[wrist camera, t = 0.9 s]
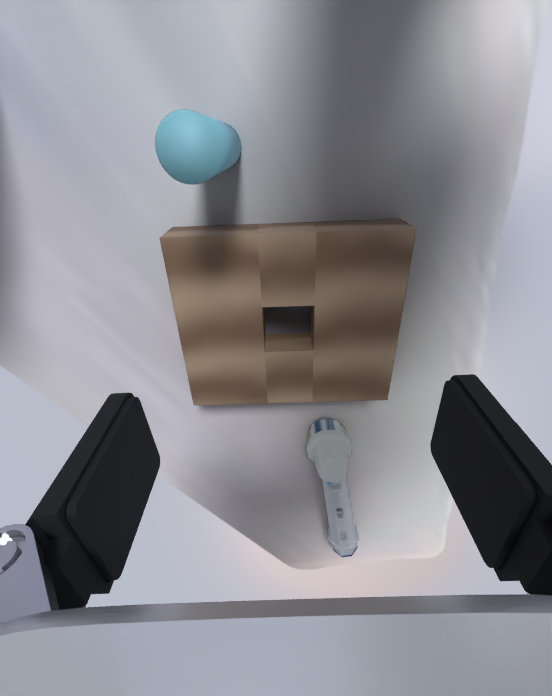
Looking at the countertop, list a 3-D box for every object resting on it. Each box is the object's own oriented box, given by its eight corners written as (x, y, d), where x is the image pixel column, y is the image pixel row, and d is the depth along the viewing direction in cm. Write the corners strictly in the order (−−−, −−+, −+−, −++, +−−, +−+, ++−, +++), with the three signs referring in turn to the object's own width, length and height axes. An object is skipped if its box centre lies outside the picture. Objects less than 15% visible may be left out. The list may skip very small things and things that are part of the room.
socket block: (172, 227, 30) (159, 238, 27) (399, 218, 30) (416, 228, 27) (200, 382, 39) (193, 405, 36) (377, 377, 39) (387, 399, 35)
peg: (197, 123, 27) (148, 110, 16) (239, 121, 26) (216, 107, 16) (203, 169, 28) (162, 185, 18) (242, 168, 28) (223, 183, 18)
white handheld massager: (329, 560, 52) (307, 469, 36) (323, 516, 57) (301, 420, 41) (364, 557, 51) (357, 463, 36) (355, 512, 56) (345, 413, 41)
